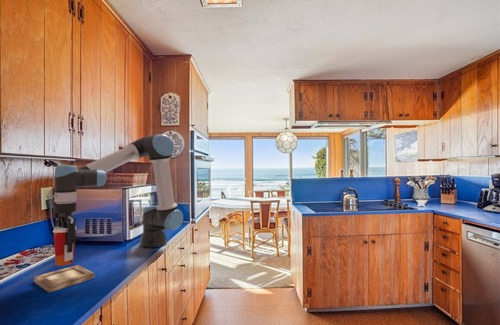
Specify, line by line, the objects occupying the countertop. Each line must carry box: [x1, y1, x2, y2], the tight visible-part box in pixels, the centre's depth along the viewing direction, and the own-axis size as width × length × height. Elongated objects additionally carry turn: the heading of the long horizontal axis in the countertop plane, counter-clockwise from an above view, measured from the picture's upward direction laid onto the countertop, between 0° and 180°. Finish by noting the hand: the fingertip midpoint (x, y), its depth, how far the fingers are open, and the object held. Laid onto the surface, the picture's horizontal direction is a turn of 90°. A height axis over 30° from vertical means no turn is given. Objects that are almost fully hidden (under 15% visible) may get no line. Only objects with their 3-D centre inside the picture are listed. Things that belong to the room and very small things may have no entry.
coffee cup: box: [52, 225, 77, 267], centre depth 111 cm, size 8×8×15 cm
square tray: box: [33, 264, 95, 293], centre depth 111 cm, size 16×16×2 cm
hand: (64, 258), depth 111 cm, fingers closed on coffee cup, 7 cm apart
